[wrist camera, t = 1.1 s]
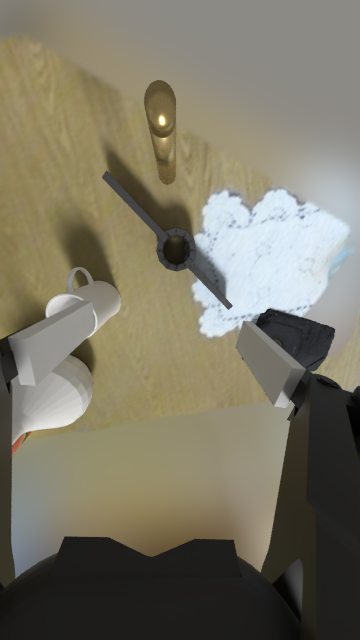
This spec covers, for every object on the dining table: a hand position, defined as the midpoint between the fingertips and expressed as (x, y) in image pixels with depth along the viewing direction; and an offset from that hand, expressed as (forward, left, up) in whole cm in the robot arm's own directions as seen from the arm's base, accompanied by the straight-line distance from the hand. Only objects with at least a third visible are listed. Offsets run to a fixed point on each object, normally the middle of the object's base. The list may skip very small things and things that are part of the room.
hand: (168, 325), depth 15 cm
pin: (-14, +13, -24) cm, 31 cm away
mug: (-10, -13, -24) cm, 29 cm away
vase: (-4, -37, -24) cm, 44 cm away
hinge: (-4, +5, -24) cm, 25 cm away
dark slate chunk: (+32, +9, -25) cm, 42 cm away
